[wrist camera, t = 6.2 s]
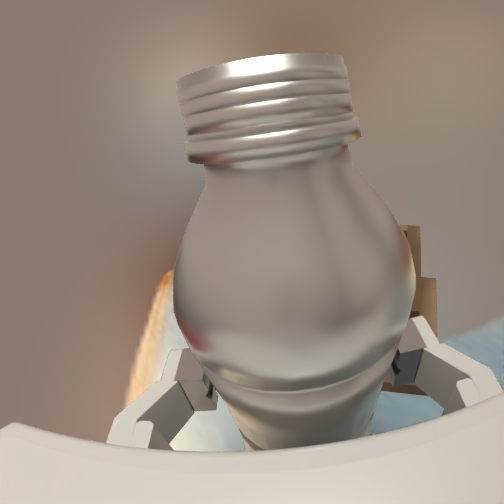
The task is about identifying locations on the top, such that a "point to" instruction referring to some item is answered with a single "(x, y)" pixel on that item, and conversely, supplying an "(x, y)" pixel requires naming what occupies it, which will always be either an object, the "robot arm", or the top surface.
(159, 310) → the top surface
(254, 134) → the plastic bottle
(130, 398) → the top surface
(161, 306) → the top surface
